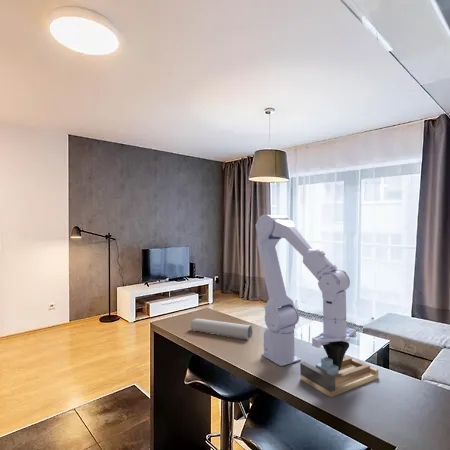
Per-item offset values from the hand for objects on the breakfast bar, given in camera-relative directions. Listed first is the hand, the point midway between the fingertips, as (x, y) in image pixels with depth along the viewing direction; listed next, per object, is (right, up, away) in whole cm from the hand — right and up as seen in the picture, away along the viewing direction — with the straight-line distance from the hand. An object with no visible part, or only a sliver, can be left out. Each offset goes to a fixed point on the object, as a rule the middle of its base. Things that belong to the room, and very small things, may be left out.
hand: (335, 369), depth 79 cm
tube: (-31, -4, +35) cm, 47 cm away
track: (+1, -3, +1) cm, 3 cm away
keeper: (-3, -2, -2) cm, 3 cm away
